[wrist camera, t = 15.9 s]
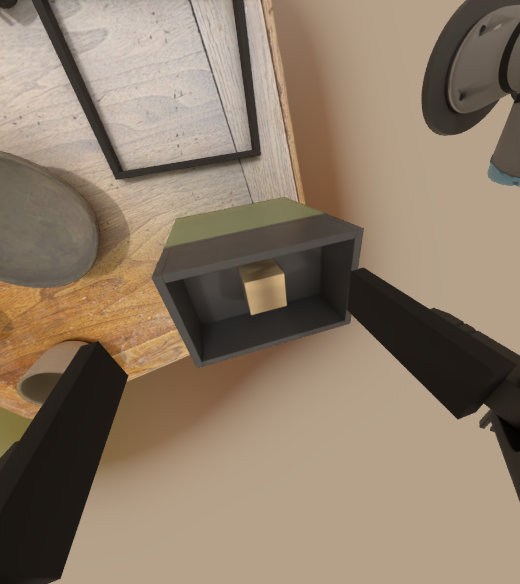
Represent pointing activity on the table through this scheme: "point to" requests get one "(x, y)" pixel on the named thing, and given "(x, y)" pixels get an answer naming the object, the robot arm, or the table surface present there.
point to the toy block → (263, 285)
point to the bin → (229, 292)
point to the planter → (47, 372)
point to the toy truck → (7, 3)
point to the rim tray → (85, 100)
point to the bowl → (43, 227)
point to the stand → (237, 220)
